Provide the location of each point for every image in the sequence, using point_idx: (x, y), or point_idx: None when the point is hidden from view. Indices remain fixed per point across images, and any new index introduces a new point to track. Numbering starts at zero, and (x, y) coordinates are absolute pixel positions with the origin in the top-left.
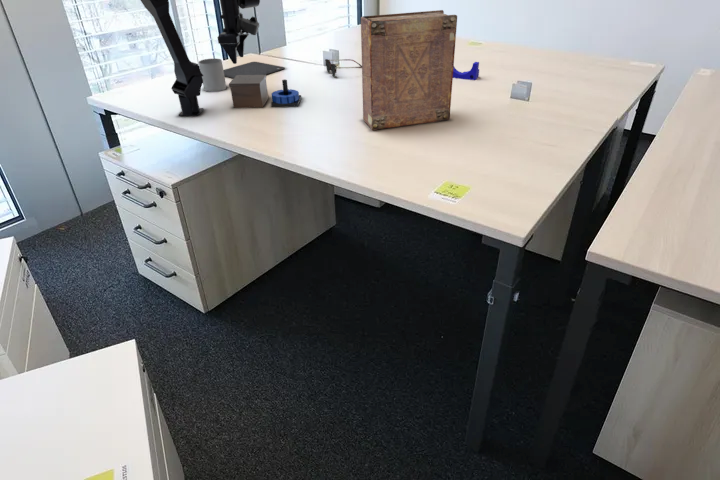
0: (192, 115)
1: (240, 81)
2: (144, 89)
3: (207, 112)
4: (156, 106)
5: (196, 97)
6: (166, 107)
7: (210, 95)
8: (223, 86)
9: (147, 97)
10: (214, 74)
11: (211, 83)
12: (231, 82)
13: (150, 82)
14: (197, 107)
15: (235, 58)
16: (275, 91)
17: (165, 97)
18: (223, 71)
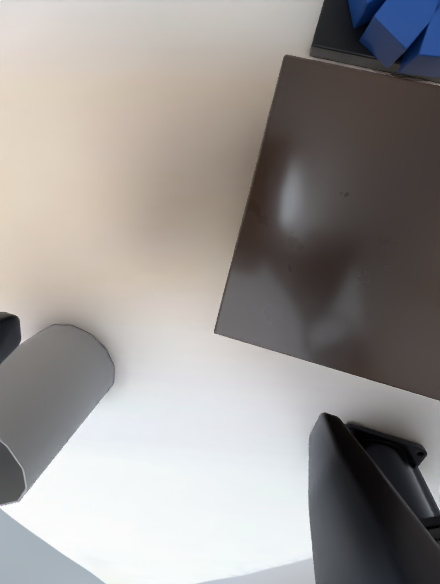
0: (416, 462)
1: (428, 320)
2: (72, 523)
3: (388, 412)
4: (241, 522)
5: (412, 503)
6: (262, 505)
7: (160, 384)
8: (83, 342)
9: (146, 527)
10: (63, 409)
11: (94, 396)
12: (420, 383)
13: (10, 506)
14: (403, 463)
15: (384, 488)
16: (391, 18)
17: (155, 495)
18: (11, 368)
